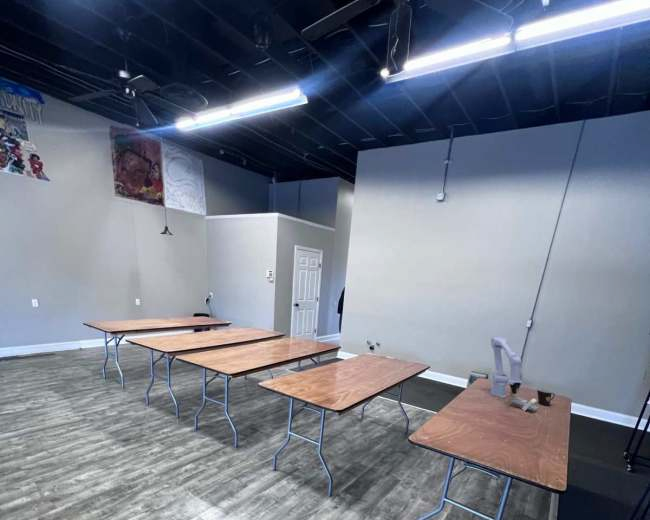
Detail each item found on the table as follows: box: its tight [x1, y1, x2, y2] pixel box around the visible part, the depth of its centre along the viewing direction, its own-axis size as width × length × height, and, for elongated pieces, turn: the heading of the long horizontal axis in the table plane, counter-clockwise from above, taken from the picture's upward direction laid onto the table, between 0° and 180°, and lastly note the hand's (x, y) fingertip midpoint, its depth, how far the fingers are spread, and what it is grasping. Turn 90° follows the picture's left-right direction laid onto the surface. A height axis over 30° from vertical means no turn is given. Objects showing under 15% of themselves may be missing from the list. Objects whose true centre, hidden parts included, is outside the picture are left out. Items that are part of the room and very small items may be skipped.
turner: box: [509, 387, 529, 403], centre depth 209 cm, size 10×6×7 cm, turn 38°
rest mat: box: [510, 398, 540, 411], centre depth 214 cm, size 16×8×1 cm, turn 39°
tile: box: [521, 398, 537, 412], centre depth 203 cm, size 2×7×9 cm
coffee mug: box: [536, 388, 556, 407], centre depth 217 cm, size 12×9×10 cm
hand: (514, 393), depth 210 cm, fingers closed on turner, 2 cm apart
